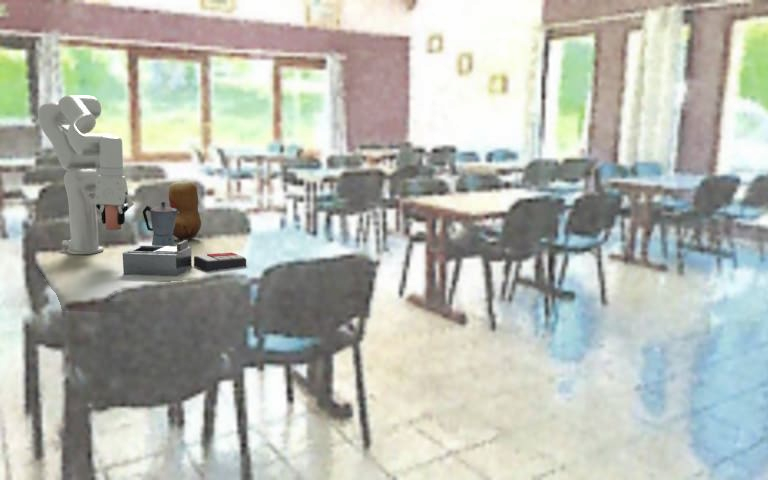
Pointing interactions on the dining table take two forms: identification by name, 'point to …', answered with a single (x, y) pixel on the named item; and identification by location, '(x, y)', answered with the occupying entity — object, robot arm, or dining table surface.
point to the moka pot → (161, 224)
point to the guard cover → (175, 247)
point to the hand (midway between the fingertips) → (113, 223)
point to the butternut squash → (185, 209)
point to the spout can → (112, 217)
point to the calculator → (219, 261)
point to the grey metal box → (155, 261)
